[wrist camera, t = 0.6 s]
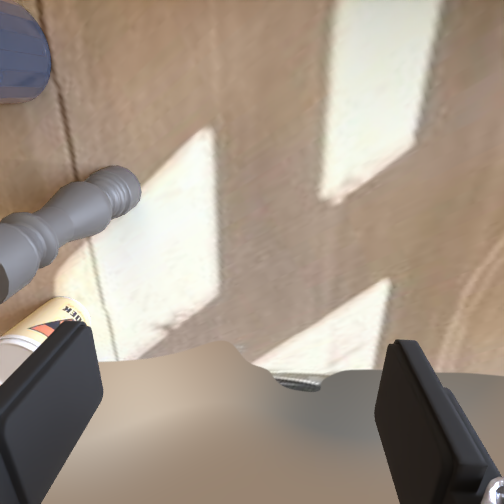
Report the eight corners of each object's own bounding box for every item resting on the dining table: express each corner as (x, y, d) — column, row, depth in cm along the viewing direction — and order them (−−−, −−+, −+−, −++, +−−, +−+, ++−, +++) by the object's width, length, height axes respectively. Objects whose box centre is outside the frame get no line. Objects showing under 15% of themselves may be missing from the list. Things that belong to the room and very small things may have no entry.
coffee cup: (106, 332, 58) (65, 388, 47) (59, 345, 60) (9, 401, 49) (76, 285, 55) (25, 332, 44) (28, 300, 57) (-33, 350, 46)
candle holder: (147, 205, 48) (28, 304, 26) (107, 214, 49) (-42, 317, 27) (131, 160, 46) (-17, 225, 23) (88, 171, 47) (-93, 244, 24)
